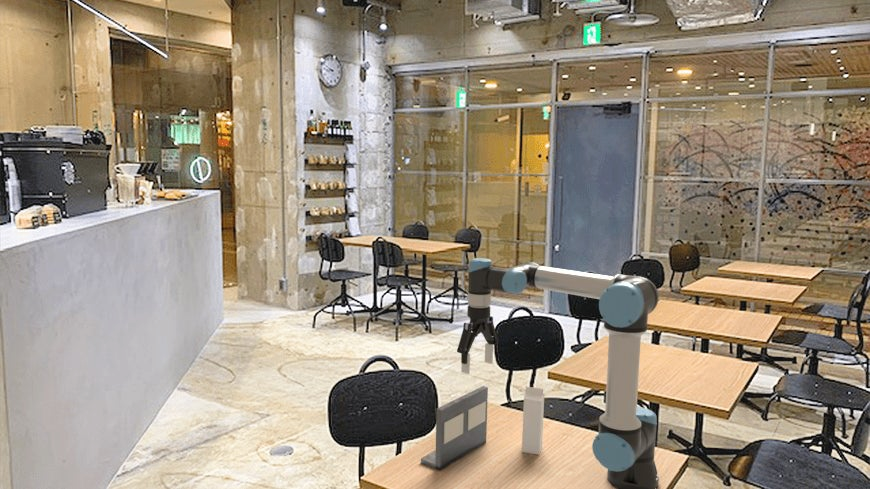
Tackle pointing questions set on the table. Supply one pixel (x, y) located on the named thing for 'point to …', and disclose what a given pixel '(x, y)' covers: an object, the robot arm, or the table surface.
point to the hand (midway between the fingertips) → (477, 367)
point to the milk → (533, 420)
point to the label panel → (459, 428)
